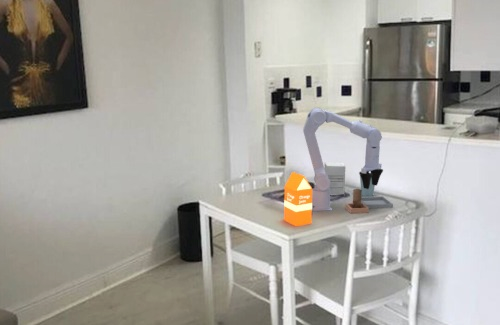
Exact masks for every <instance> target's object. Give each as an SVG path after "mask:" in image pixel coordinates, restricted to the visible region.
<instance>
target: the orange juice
mask: <svg viewBox="0 0 500 325" xmlns="http://www.w3.org/2000/svg"><path fill="white" fill-rule="evenodd" d="M312 189H313V188H312V186H311V185H310V183H309V182H308V180H307V178H306V177H305V175H302V174H301V173H298V172H297V173H296V172H295V171H292V172H291V174H290V175H289V178H288V179H287V181H286V183H285V184H284V200H283V201H284V203H283V206H284V208H283V209H284V211H283V213H284V215H283V220H284V221H285V222H287V223H289V224H291V225H292V226H294V227H299V226H305V225H309V224H312V212H313V211H312Z"/></svg>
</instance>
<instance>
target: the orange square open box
mask: <svg viewBox="0 0 500 325" xmlns="http://www.w3.org/2000/svg"><path fill="white" fill-rule="evenodd" d="M344 204H345V210H347V212H348V213H350V214H369V210H370V208H368V207H367V206H366V205H364V204H363V203H361V208H353V202H352V203H344Z"/></svg>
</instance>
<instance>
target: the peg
mask: <svg viewBox="0 0 500 325" xmlns="http://www.w3.org/2000/svg"><path fill="white" fill-rule="evenodd" d="M362 197H363V196H362V190H361V188H356V189H355V188H354V189H353V190H352V203H353V208H361V199H362Z"/></svg>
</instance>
